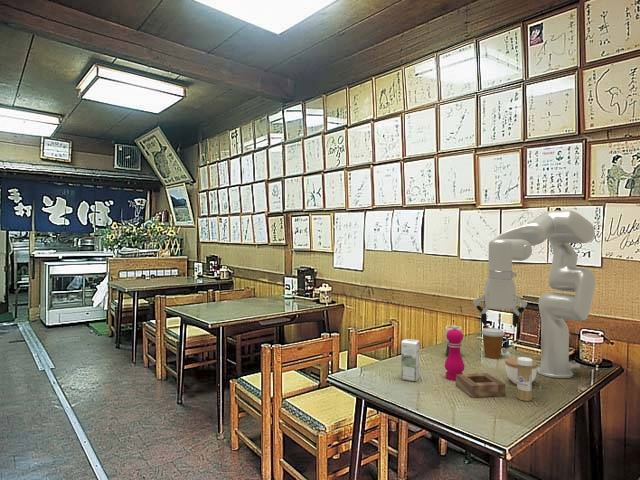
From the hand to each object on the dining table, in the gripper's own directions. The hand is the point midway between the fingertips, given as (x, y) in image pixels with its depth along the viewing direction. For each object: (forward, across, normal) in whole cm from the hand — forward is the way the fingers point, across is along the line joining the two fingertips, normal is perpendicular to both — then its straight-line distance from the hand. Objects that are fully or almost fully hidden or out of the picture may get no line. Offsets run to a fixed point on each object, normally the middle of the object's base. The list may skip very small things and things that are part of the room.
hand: (499, 325), depth 151 cm
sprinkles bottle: (+23, -7, +4) cm, 25 cm away
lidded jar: (+23, -10, -13) cm, 28 cm away
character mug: (+23, +12, -43) cm, 50 cm away
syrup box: (+24, +30, -8) cm, 39 cm away
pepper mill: (+23, +14, -13) cm, 30 cm away
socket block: (+23, +6, -1) cm, 24 cm away
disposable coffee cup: (+23, -6, -46) cm, 52 cm away
